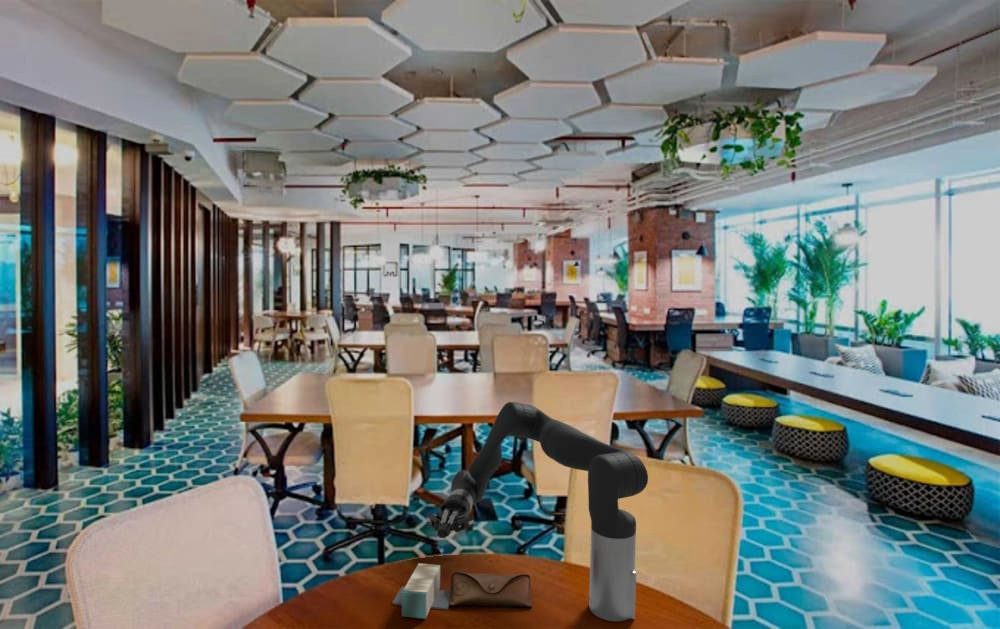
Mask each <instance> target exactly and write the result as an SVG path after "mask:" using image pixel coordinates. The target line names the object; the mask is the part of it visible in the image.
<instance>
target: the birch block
mask: <svg viewBox="0 0 1000 629" xmlns="http://www.w3.org/2000/svg"><path fill="white" fill-rule="evenodd" d="M404 587H405V588H404V590H403V591H402V605H401V617H405V618H415V619H427V617H428V614H429V612H430V610H431V609H432V608H431V606H432V604H433V602H434V599H435V597H436V595H437V593H438V591H439V590H441V589H440V588H441V565H440V564H429V563H419V562H418V564H417V566H416V567H415V569H414V570H413V572H412V574H411V576H410V578H409V579H408V581H407V583H406V585H405V586H404Z"/></svg>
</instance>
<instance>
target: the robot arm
mask: <svg viewBox="0 0 1000 629" xmlns="http://www.w3.org/2000/svg"><path fill="white" fill-rule="evenodd" d="M508 436H511V437H516V438H521V439H522V438H523V439H528V440H532V441H535V442H538V443H540V448H541V449H542V452H543V453H544V454H545V455H546V456H547V457H548V458H550V459H552V461H554V462H556V463H558V464H560V465H562V466H563V467H567V468H569V469H573V470H580V471H585V472H587V488H588V489H587V490H588V493H587V494H588V495H587V497H588V512H589V517H590V526H591V527H590V555H589V556H590V557H589V558H590V559H589V561H590V562H589V594H588V601H589V603H588V608H589V610H590V612H591V613H592V614H593V615H594V616H595V617H597V618H599V619H602V620H605V621H608V622H624V621H627V620H635V619H636V591H637V590H636V589H637V588H636V586H637V572H636V541H637V540H636V539H637V538H636V537H637V534H636V533H637V521H636V518H635V516H634V515H633V514H631V513H630V512H628V511H626V510H624V509H620V508H619V499H625V498H630V497H633V496H636V495H639V494H640V493H642V492H643V491H644V490H645V488H647V485H648V482H649V474H648V471H647V467H646V466H645V464H644V463H643V461H642V459H640V458H639V457H638V455H636V454H634V453H633V452H631V451H628V450H626V449H624V448H623V449H622V448H620V447H616V446H613V445H610V444H608V443H605V442H603V441H601V440H598V439H597V438H595V437H593V436H590V435H588V434H587V433H585V432H582V431H581V430H579V429H578V428H576V427H573V426H572V425H569V424H568V423H565V422H562V421H560V420H557V419H554V418H551V417H550V416H549V415H547V414H546V413H545V412H543V411H542V410H541V409H539V408H538V407H537V406H534V405H532V404H531V405H530V404H526V403H522V402H521V403H520V402H515V401H509V402H506V403H505V404H504V405H503V406H502V407H501V409H500V411H499V413H497V416H496V418H495V420H494V423H493V424H492V427H491V429H490V430H489V433H488V436H487V438H486V440H485V443H484V444H483V446H482V448H481V449H480V451H479V452H478V454H476V456H475V458H474V459H473V460H472V461H471V463H470V464H469V467H468V470H467V469H466V470H465V469H461V470H459V471H457V473H455V475H454V477H453V479H452V481H451V485H450V493H449V494H448V495H447V497H446V499H445V500H444V502H443V503H442V504H441V507H440V509H439V511H436V513H432V512H428V513H427V514H426V523H427V525H429V526H430V527H431V528H432V529H433V530H434V531H437V533H436V534H437V536H438V537H439V539H446V537H449V535H450V534H451V533H453V531H454V532H455V533H459V532H461V531H464V530H467V529H470V528H473V527H474V521H475V520H474V515H470V513H471V511H472V510H473V509H472V508H473V505H474V504H476V503H479V502H480V501H481V500H482V499H483V497H484V496H485V494H486V491H487V486H488V483H489V481H490V479H491V477H492V476H493V475H494V473H495V472H496V471H497V470H498V468H499V466H500V465H501V462H502V458H503V452H502V451H503V450H502V442H503V441H504V440H505V439H506V438H507V437H508Z"/></svg>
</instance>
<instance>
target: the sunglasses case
mask: <svg viewBox="0 0 1000 629" xmlns="http://www.w3.org/2000/svg"><path fill="white" fill-rule="evenodd" d="M450 578H451V581H450V589H449V591H450V605H449V606H453V607H454V606H477V607H478V606H485V607H486V606H487V607H499V608H500V607H501V608H503V607H504V608H505V607H506V608H507V607H508V608H525V607H526V608H527V607H528V608H529V607H533V597H531V596H532V588H531V576H530V575H529V574H526V573H521V574H507V573H505V574H504V573H482V572H481V573H479V572H478V573H475V572H474V573H469V572H468V573H465V572H462V571H459V572H458V571H455V572H453V573H452V574H451V577H450Z"/></svg>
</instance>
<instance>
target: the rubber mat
mask: <svg viewBox="0 0 1000 629" xmlns="http://www.w3.org/2000/svg"><path fill="white" fill-rule="evenodd" d="M404 588H405V586H401V588H400V589H399V590H398V592H397V594H396V595H395V597H394V599H393V600H392V603H391V604H392V605H396V606H402V591H403V590H404ZM450 606H451V605H450V590H444V589H439V591H438V593H437V595H436V597H435V599H434V602H433V604H432V606H431V608H430V609H435V610H446V611H447V610H449V607H450Z"/></svg>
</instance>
